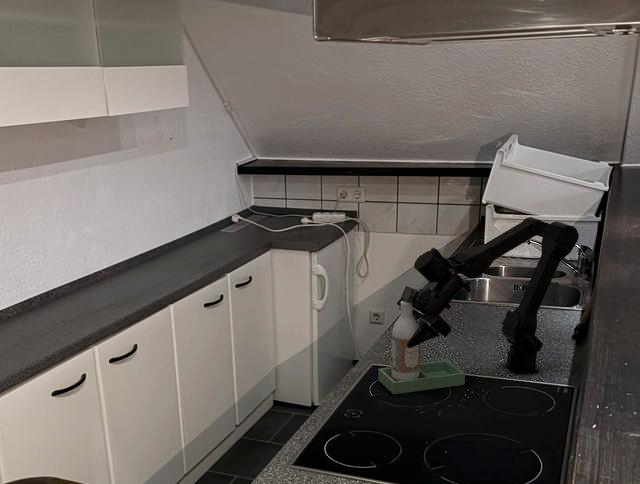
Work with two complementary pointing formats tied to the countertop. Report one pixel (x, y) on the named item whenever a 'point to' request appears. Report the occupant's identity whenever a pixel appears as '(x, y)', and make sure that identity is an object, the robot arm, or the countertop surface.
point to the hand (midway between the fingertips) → (401, 342)
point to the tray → (424, 378)
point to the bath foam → (405, 345)
